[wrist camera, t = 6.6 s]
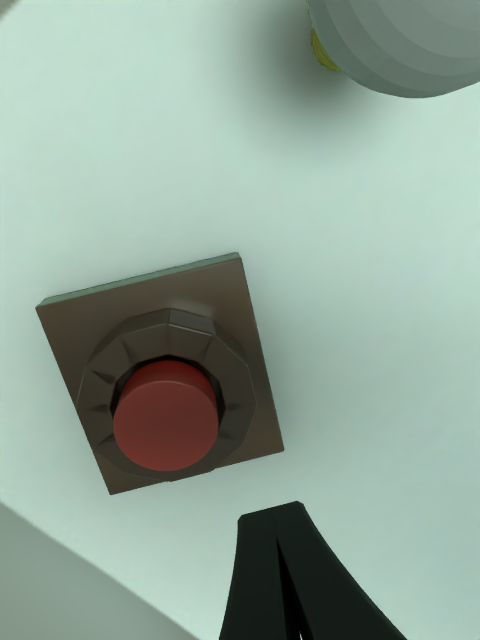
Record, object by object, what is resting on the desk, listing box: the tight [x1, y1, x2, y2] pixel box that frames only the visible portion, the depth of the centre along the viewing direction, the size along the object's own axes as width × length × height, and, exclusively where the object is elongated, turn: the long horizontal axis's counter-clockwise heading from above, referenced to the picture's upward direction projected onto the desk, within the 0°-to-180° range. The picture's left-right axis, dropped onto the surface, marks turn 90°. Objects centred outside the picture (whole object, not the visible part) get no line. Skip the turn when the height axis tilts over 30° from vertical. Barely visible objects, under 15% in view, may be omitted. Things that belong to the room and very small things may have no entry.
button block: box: [35, 252, 284, 495], centre depth 18 cm, size 9×8×3 cm
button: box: [113, 360, 219, 471], centre depth 16 cm, size 4×4×2 cm
